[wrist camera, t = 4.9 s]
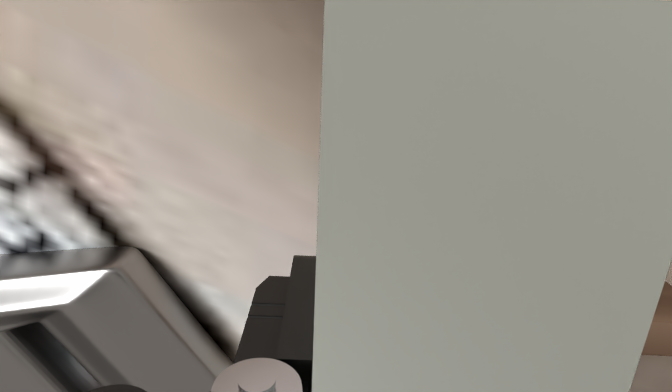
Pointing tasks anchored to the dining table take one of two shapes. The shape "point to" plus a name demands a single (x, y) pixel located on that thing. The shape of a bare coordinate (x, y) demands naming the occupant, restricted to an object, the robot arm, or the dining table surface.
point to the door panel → (491, 194)
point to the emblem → (98, 325)
